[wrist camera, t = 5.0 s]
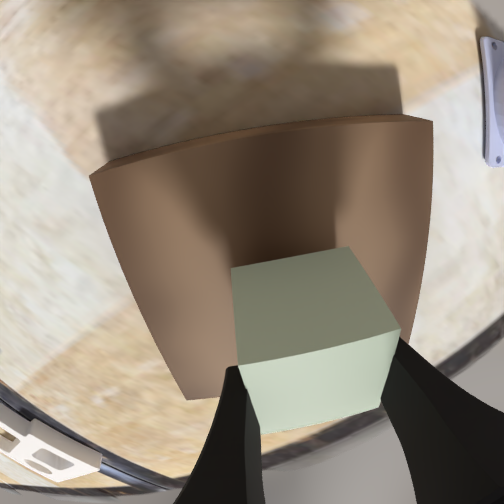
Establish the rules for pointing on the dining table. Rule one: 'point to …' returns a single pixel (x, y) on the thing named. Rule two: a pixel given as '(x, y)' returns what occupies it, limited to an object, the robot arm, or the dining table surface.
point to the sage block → (311, 338)
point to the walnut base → (264, 223)
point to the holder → (45, 448)
